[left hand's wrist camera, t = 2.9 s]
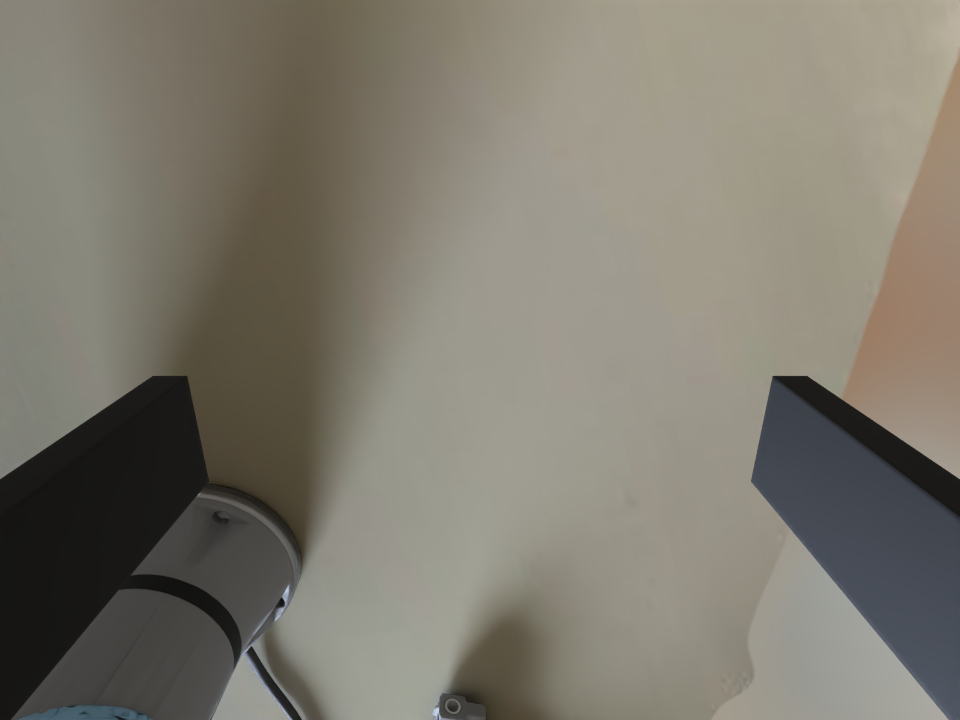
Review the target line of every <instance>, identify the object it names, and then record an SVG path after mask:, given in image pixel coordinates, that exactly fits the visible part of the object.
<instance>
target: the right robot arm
mask: <svg viewBox="0 0 960 720" xmlns="http://www.w3.org/2000/svg"><path fill="white" fill-rule="evenodd" d="M300 574H301V557H300V552H299V548H298V545H297V543H296V540H295V538H294V536H293V534H292V533H291V531H290V530H289V528H288V527H287V525H286V524H285V523H284V522H283V520H282V519H281V518H280V517H279V516H278V515H277V514H276V513H275V512H273V511H272V510H271V509H270V508H269V507H267V506H266V505H264V504H263V503H261V502H260V501H258V500H256V499H255V498H253V497H251V496H249V495H247V494H244V493H242V492H239V491H237V490H234V489H230V488H227V487H222V486H217V485H209V484H206V485H205V487H204V488H203V489H202V490H201V492H200V493H199V494H198V495H197V496H196V498H195V499H194V500H193V501H192V502H191V504H190V505H189V506H188V507H187V508H186V510H185V511H184V512H183V513H182V514H181V516H180V517H179V518H178V519H177V520H176V522H175V523H174V524H173V525H172V526H171V528H170V529H169V530H168V531H167V532H166V534H165V535H164V536H163V537H162V538H161V540H160V541H159V542H158V543H157V545H156V546H155V547H154V548H153V549H152V551H151V552H150V553H149V554H148V555H147V557H146V558H145V559H144V560H143V561H142V563H141V564H140V565H139V566H138V567H137V569H136V570H135V571H134V572H133V573H132V575H131V576H130V577H129V578H128V579H127V581H126V582H125V583H124V584H123V585H122V587H121V588H120V589H119V590H118V591H117V593H116V594H115V595H114V596H113V598H112V599H111V600H110V601H109V602H108V604H107V605H106V606H105V607H104V608H103V610H102V611H101V612H100V613H99V614H98V616H97V617H96V618H95V619H94V620H93V622H92V623H91V624H90V625H89V626H88V628H87V629H86V630H85V631H84V632H83V634H82V635H81V636H80V637H79V638H78V640H77V641H76V642H75V643H74V644H73V646H72V647H71V648H70V649H69V651H68V652H67V653H66V654H65V655H64V657H63V658H62V659H61V660H60V661H59V663H58V664H57V665H56V666H55V667H54V669H53V670H52V671H51V672H50V673H49V675H48V676H47V677H46V678H45V679H44V681H43V682H42V683H41V684H40V685H39V687H38V688H37V689H36V690H35V691H34V693H33V694H32V695H31V696H30V697H29V699H28V700H27V701H26V702H25V703H24V705H23V706H22V707H21V708H20V710H19V711H18V712H17V713H16V714H15V716H14V717H13V718H12V719H11V720H211V719H212V717H213V715H214V713H215V711H216V708H217V706H218V704H219V702H220V700H221V698H222V695H223V693H224V691H225V689H226V687H227V685H228V682H229V680H230V678H231V676H232V674H233V672H234V669H235V667H236V665H237V663H238V661H239V659H240V657H241V656H242V655H243V654H244V655H245V657H246V659H247V660H248V662H249V664H250V665H251V667H252V669H253V670H254V672H255V673H256V675H257V676H258V678H259V679H260V681H261V682H262V683H263V685H264V686H265V687H266V689H267V690H268V691H269V693H270V694H271V695H272V697H273V698H274V699H275V700H276V702H277V703H278V704H279V705H280V707H281V708H282V709H283V711H284V712H285V713H286V715H287V716H288V718H289V719H290V720H302V719H301V717H300V716H299V714H298V713H297V711H296V710H295V708H294V707H293V706H292V704H291V703H290V702H289V700H288V699H287V698H286V696H285V695H284V694H283V692H282V691H281V690H280V689H279V687H278V686H277V685H276V683H275V682H274V681H273V679H272V678H271V676H270V675H269V674H268V672H267V671H266V669H265V667H264V666H263V664H262V663H261V661H260V659H259V658H258V656H257V654H256V652H255V651H254V649H253V647H252V645H253V644H254V643H255V642H256V641H257V640H258V639H259V638H260V637H261V636H262V635H263V634H264V632H265V631H266V630H267V629H268V628H269V627H270V626H271V625H272V624H273V623H274V622H275V621H276V620H277V619H278V618H279V617H280V616H281V615H282V613H283V612H284V611H285V610H286V608H287V607H288V605H289V603H290V601H291V599H292V597H293V594H294V592H295V589H296V587H297V585H298V582H299V579H300Z"/></svg>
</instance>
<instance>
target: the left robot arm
mask: <svg viewBox="0 0 960 720" xmlns="http://www.w3.org/2000/svg"><path fill="white" fill-rule="evenodd" d="M208 482H209V479H208V474H207V470H206V465H205V460H204V455H203V450H202V445H201V441H200V436H199V431H198V426H197V421H196V416H195V412H194V407H193V402H192V397H191V392H190V387H189V383H188V378H187V376H152V377H151V378H149V379H148V380H146V381H145V382H143V383H142V384H140V385H139V386H138V387H136V388H135V389H133V390H132V391H130V392H129V393H127V394H126V395H124V396H123V397H121V398H120V399H118V400H117V401H115V402H114V403H112V404H111V405H109V406H108V407H106V408H105V409H104V410H102V411H101V412H99V413H98V414H96V415H95V416H93V417H92V418H90V419H89V420H87V421H86V422H84V423H83V424H81V425H80V426H78V427H77V428H75V429H74V430H72V431H71V432H70V433H68V434H67V435H65V436H64V437H62V438H61V439H59V440H58V441H56V442H55V443H53V444H52V445H50V446H49V447H47V448H46V449H44V450H43V451H41V452H40V453H38V454H37V455H36V456H34V457H33V458H31V459H30V460H28V461H27V462H25V463H24V464H22V465H21V466H19V467H18V468H16V469H15V470H13V471H12V472H10V473H9V474H7V475H6V476H4V477H3V478H2V479H0V720H11V719H12V718H13V717H14V716H15V714H16V713H17V712H18V711H19V710H20V708H21V707H22V706H23V705H24V703H25V702H26V701H27V700H28V699H29V697H30V696H31V695H32V694H33V693H34V691H35V690H36V689H37V688H38V687H39V685H40V684H41V683H42V682H43V681H44V679H45V678H46V677H47V676H48V675H49V673H50V672H51V671H52V670H53V669H54V667H55V666H56V665H57V664H58V663H59V661H60V660H61V659H62V658H63V657H64V655H65V654H66V653H67V652H68V651H69V649H70V648H71V647H72V646H73V644H74V643H75V642H76V641H77V640H78V638H79V637H80V636H81V635H82V634H83V632H84V631H85V630H86V629H87V628H88V626H89V625H90V624H91V623H92V622H93V620H94V619H95V618H96V617H97V616H98V614H99V613H100V612H101V611H102V610H103V608H104V607H105V606H106V605H107V604H108V602H109V601H110V600H111V599H112V598H113V596H114V595H115V594H116V593H117V591H118V590H119V589H120V588H121V587H122V585H123V584H124V583H125V582H126V581H127V579H128V578H129V577H130V576H131V575H132V573H133V572H134V571H135V570H136V569H137V567H138V566H139V565H140V564H141V563H142V561H143V560H144V559H145V558H146V557H147V555H148V554H149V553H150V552H151V551H152V549H153V548H154V547H155V546H156V545H157V543H158V542H159V541H160V540H161V538H162V537H163V536H164V535H165V534H166V532H167V531H168V530H169V529H170V528H171V526H172V525H173V524H174V523H175V522H176V520H177V519H178V518H179V517H180V516H181V514H182V513H183V512H184V511H185V510H186V508H187V507H188V506H189V505H190V504H191V502H192V501H193V500H194V499H195V498H196V496H197V495H198V494H199V493H200V492H201V490H202V489H203V488H204V487H205V485H206V484H207V483H208ZM751 482H752V483H753V484H754V485H755V487H756V488H757V489H758V490H759V492H760V493H761V494H762V495H763V496H764V498H765V499H766V500H767V501H768V502H769V504H770V505H771V506H772V507H773V508H774V510H775V511H776V512H777V513H778V514H779V516H780V517H781V518H782V519H783V520H784V522H785V523H786V524H787V525H788V526H789V528H790V529H791V530H792V531H793V532H794V534H795V535H796V536H797V537H798V538H799V540H800V541H801V542H802V543H803V544H804V546H805V547H806V548H807V549H808V551H809V552H810V553H811V554H812V555H813V557H814V558H815V559H816V560H817V561H818V563H819V564H820V565H821V566H822V567H823V569H824V570H825V571H826V572H827V573H828V575H829V576H830V577H831V578H832V579H833V581H834V582H835V583H836V584H837V585H838V587H839V588H840V589H841V590H842V591H843V593H844V594H845V595H846V596H847V598H848V599H849V600H850V601H851V602H852V604H853V605H854V606H855V607H856V608H857V610H858V611H859V612H860V613H861V614H862V616H863V617H864V618H865V619H866V620H867V622H868V623H869V624H870V625H871V626H872V628H873V629H874V630H875V631H876V632H877V634H878V635H879V636H880V637H881V638H882V640H883V641H884V642H885V643H886V644H887V646H888V647H889V648H890V649H891V650H892V652H893V653H894V654H895V655H896V657H897V658H898V659H899V660H900V661H901V663H902V664H903V665H904V666H905V667H906V669H907V670H908V671H909V672H910V673H911V675H912V676H913V677H914V678H915V679H916V681H917V682H918V683H919V684H920V685H921V687H922V688H923V689H924V690H925V691H926V693H927V694H928V695H929V696H930V697H931V699H932V700H933V701H934V702H935V704H936V705H937V706H938V707H939V708H940V709H941V711H942V712H943V713H944V714H945V716H946V717H947V718H948V719H949V720H960V479H958V478H957V477H956V476H954V475H953V474H951V473H950V472H948V471H947V470H945V469H944V468H942V467H941V466H939V465H938V464H936V463H935V462H933V461H932V460H930V459H929V458H927V457H926V456H924V455H923V454H922V453H920V452H919V451H917V450H916V449H914V448H913V447H911V446H910V445H908V444H907V443H905V442H904V441H902V440H901V439H899V438H898V437H896V436H895V435H893V434H892V433H890V432H889V431H888V430H886V429H885V428H883V427H882V426H880V425H879V424H877V423H876V422H874V421H873V420H871V419H870V418H868V417H867V416H865V415H864V414H862V413H861V412H859V411H858V410H856V409H855V408H854V407H852V406H850V405H849V404H848V403H846V402H845V401H843V400H842V399H840V398H839V397H837V396H836V395H834V394H833V393H831V392H830V391H828V390H827V389H825V388H824V387H822V386H821V385H820V384H818V383H817V382H815V381H814V380H812V379H811V378H809V377H808V376H773V378H772V382H771V387H770V392H769V397H768V402H767V407H766V412H765V416H764V421H763V426H762V431H761V436H760V441H759V445H758V450H757V455H756V460H755V465H754V470H753V474H752V479H751Z"/></svg>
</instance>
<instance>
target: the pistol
mask: <svg viewBox="0 0 960 720" xmlns="http://www.w3.org/2000/svg"><path fill="white" fill-rule="evenodd" d="M433 715H435V718H434V720H487V719H486V707H485V705H482V704H475V703H469V702H467V701H466V699H465V697H464V696H457V695H451V694H444V693H443V694H442V695H441V696H440V699H439V703H438V705H436V706H435V708H434V710H433Z"/></svg>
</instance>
